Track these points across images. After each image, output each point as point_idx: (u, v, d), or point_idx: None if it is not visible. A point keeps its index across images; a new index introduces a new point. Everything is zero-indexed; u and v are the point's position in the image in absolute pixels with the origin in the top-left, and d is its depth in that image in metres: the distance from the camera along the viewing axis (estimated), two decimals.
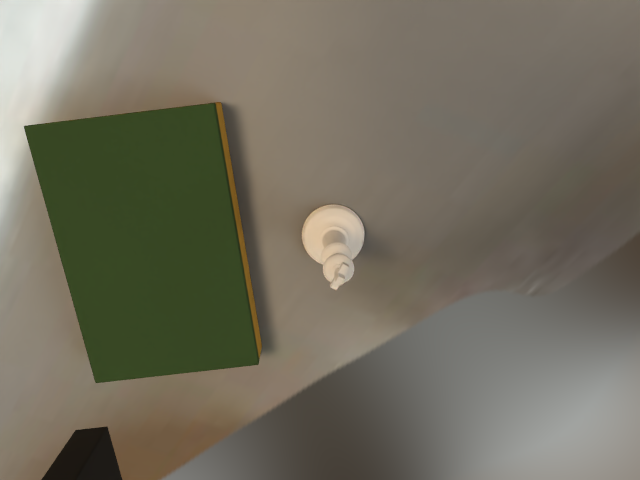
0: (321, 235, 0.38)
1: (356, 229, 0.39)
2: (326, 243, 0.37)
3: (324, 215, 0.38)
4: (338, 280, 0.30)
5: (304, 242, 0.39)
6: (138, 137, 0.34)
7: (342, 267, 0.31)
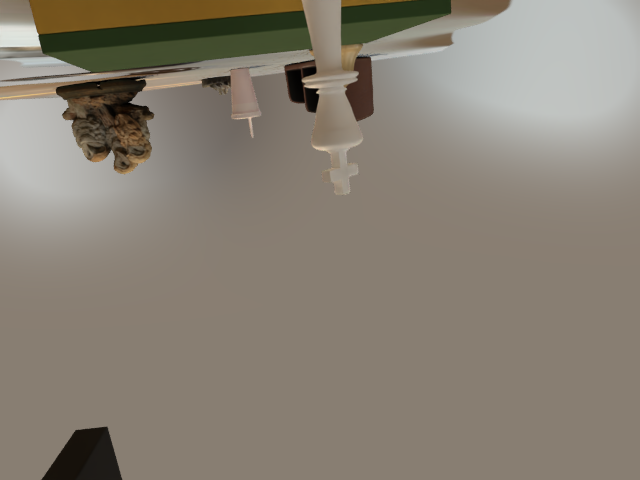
0: None
1: None
2: None
3: None
4: None
5: None
6: (100, 60, 0.28)
7: None
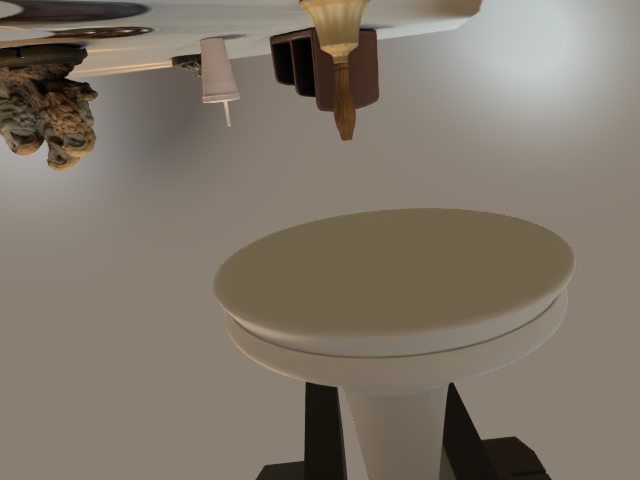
0: None
1: None
2: None
3: None
4: None
5: None
6: None
7: None
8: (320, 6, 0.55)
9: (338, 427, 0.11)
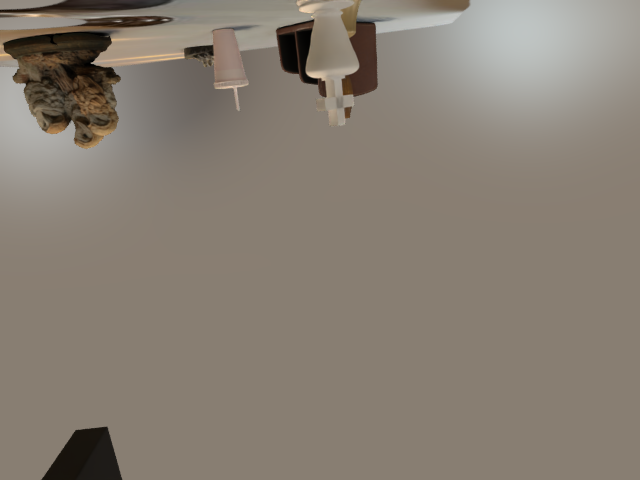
0: None
1: None
2: None
3: None
4: None
5: None
6: None
7: None
8: None
9: None
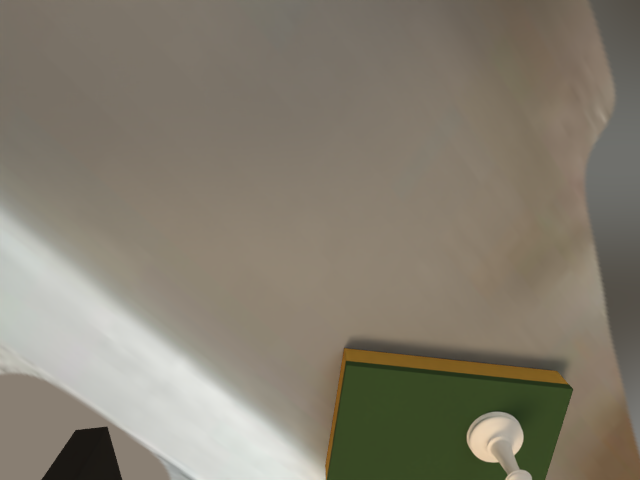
0: (492, 455, 0.44)
1: (497, 424, 0.44)
2: None
3: (475, 444, 0.44)
4: None
5: (492, 462, 0.45)
6: (355, 421, 0.44)
7: None
8: None
9: None
